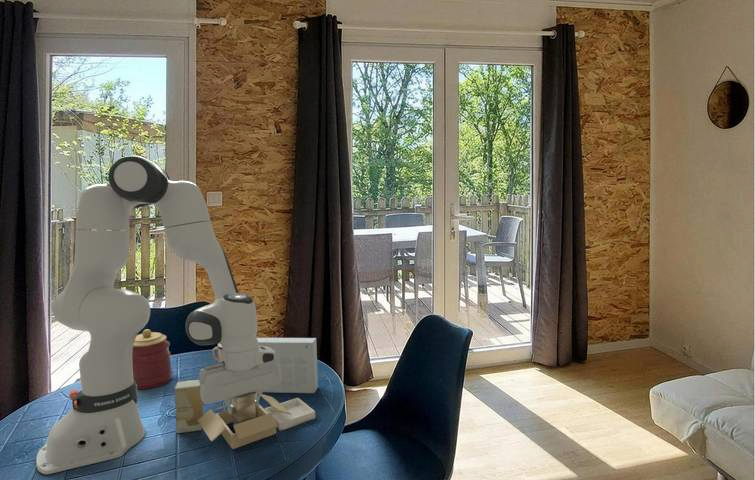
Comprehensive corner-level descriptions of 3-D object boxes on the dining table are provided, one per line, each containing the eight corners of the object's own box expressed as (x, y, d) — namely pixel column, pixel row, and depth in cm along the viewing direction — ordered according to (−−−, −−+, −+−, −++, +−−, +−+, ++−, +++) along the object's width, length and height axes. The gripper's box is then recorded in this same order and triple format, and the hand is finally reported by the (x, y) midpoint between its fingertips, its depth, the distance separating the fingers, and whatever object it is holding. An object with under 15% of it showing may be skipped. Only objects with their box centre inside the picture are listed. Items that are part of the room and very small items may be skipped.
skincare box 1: (176, 434, 113) (172, 388, 112) (179, 425, 117) (175, 381, 116) (203, 430, 115) (200, 385, 114) (204, 421, 119) (201, 378, 118)
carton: (216, 462, 101) (214, 439, 101) (194, 427, 116) (193, 407, 116) (297, 431, 113) (296, 411, 113) (268, 404, 128) (267, 386, 128)
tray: (280, 430, 114) (279, 423, 114) (264, 415, 122) (264, 408, 122) (315, 418, 120) (315, 411, 120) (298, 404, 128) (298, 397, 128)
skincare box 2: (318, 386, 140) (317, 337, 138) (314, 394, 134) (312, 343, 133) (254, 384, 142) (251, 336, 140) (247, 392, 137) (245, 342, 135)
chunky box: (239, 437, 111) (237, 399, 110) (233, 429, 115) (231, 392, 114) (256, 431, 114) (254, 394, 113) (250, 423, 118) (248, 387, 116)
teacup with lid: (250, 363, 159) (249, 332, 158) (237, 374, 150) (235, 340, 149) (220, 361, 162) (218, 330, 160) (205, 371, 153) (203, 339, 151)
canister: (155, 391, 138) (150, 336, 136) (118, 389, 140) (113, 335, 138) (180, 374, 151) (177, 324, 149) (146, 372, 153) (142, 322, 151)
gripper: (201, 371, 104) (205, 427, 105) (283, 352, 116) (285, 402, 117) (194, 363, 109) (198, 417, 110) (273, 345, 121) (275, 394, 122)
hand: (243, 409), depth 114 cm, fingers closed on chunky box, 4 cm apart
